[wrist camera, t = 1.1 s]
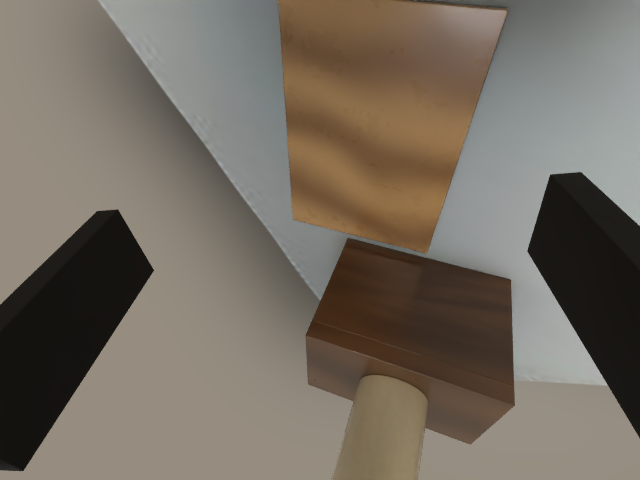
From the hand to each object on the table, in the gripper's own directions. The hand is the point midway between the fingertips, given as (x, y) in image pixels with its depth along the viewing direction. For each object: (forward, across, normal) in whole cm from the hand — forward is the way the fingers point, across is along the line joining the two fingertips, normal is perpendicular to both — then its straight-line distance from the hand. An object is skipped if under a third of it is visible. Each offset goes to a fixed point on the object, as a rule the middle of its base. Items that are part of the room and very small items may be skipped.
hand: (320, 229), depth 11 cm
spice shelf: (+18, +6, -22) cm, 29 cm away
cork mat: (+18, +2, -5) cm, 19 cm away
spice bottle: (+7, +3, -23) cm, 24 cm away
